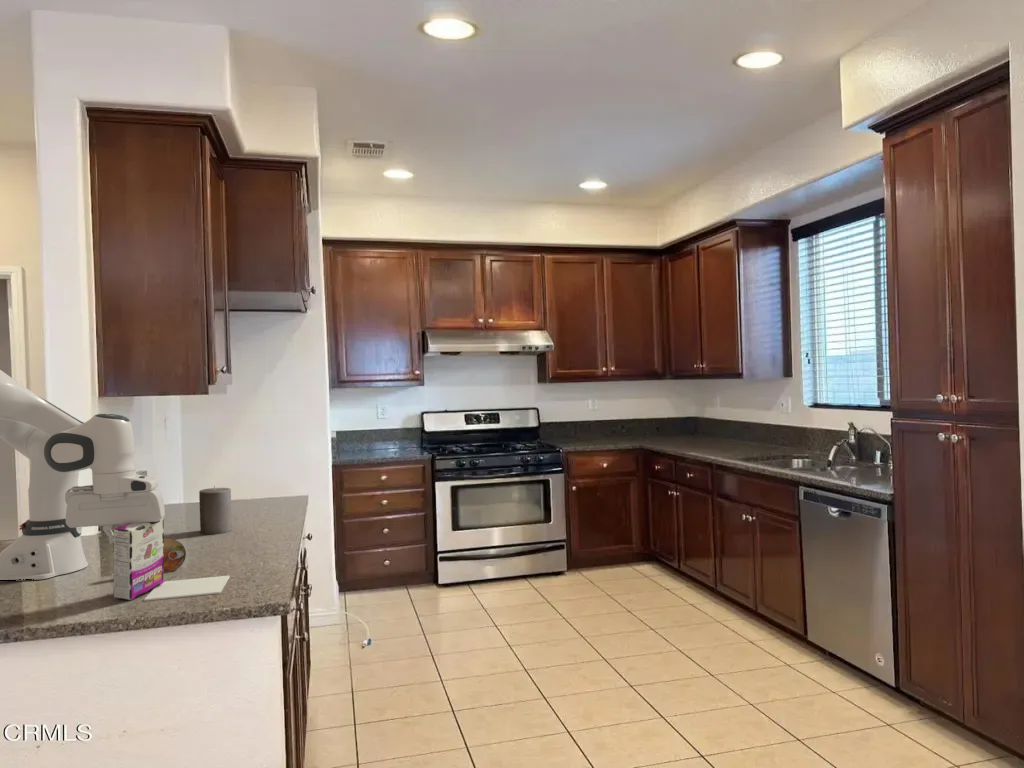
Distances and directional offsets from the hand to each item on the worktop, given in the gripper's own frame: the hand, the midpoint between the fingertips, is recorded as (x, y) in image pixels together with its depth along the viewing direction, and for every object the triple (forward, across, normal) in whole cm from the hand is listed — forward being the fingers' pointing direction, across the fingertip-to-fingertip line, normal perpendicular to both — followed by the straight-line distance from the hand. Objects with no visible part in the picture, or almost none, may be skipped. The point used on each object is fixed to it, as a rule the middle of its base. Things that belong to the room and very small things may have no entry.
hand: (117, 543), depth 164 cm
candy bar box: (+12, +4, 0) cm, 12 cm away
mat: (+12, +15, 0) cm, 19 cm away
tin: (+12, +3, +18) cm, 22 cm away
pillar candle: (+12, +9, +67) cm, 69 cm away
